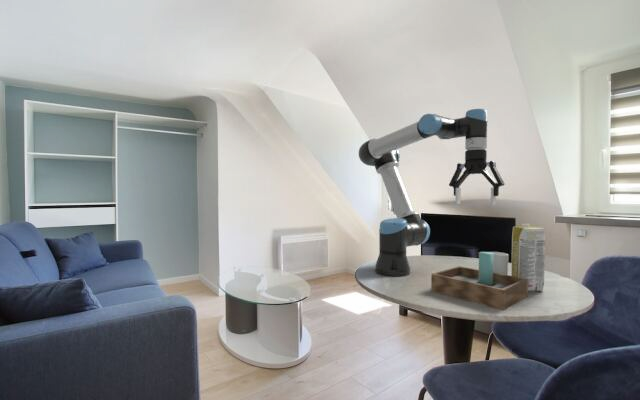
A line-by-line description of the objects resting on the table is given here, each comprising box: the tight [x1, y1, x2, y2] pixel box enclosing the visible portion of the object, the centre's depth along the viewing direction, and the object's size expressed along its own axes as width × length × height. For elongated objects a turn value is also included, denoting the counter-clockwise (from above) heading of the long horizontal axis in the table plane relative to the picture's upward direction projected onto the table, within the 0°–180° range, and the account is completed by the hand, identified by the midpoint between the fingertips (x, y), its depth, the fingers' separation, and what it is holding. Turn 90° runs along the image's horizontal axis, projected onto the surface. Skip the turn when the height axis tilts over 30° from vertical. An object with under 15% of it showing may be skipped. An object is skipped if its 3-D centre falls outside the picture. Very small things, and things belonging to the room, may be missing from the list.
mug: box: [489, 251, 509, 275], centre depth 123 cm, size 10×7×12 cm, turn 170°
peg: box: [478, 251, 493, 287], centre depth 112 cm, size 4×4×14 cm
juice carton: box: [510, 223, 546, 292], centre depth 116 cm, size 9×8×24 cm
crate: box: [430, 265, 529, 311], centre depth 110 cm, size 24×20×6 cm
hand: (474, 204), depth 123 cm, fingers open, 13 cm apart
